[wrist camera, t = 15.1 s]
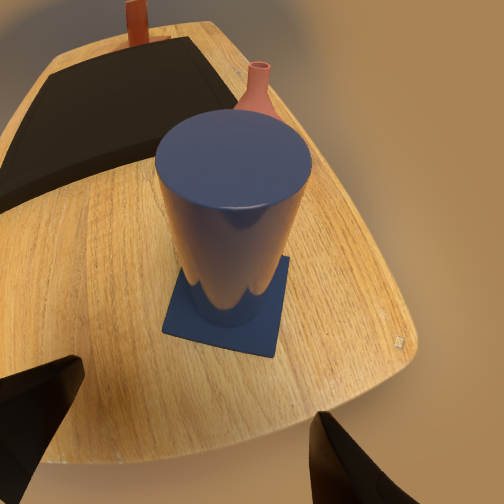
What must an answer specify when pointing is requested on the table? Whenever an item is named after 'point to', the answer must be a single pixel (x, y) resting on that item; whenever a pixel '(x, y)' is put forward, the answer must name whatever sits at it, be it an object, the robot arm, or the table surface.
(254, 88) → the terracotta bud vase
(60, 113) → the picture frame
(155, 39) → the terracotta tile
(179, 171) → the blue cylinder
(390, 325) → the table surface
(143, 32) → the terracotta candle
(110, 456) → the table surface
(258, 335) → the blue mat
